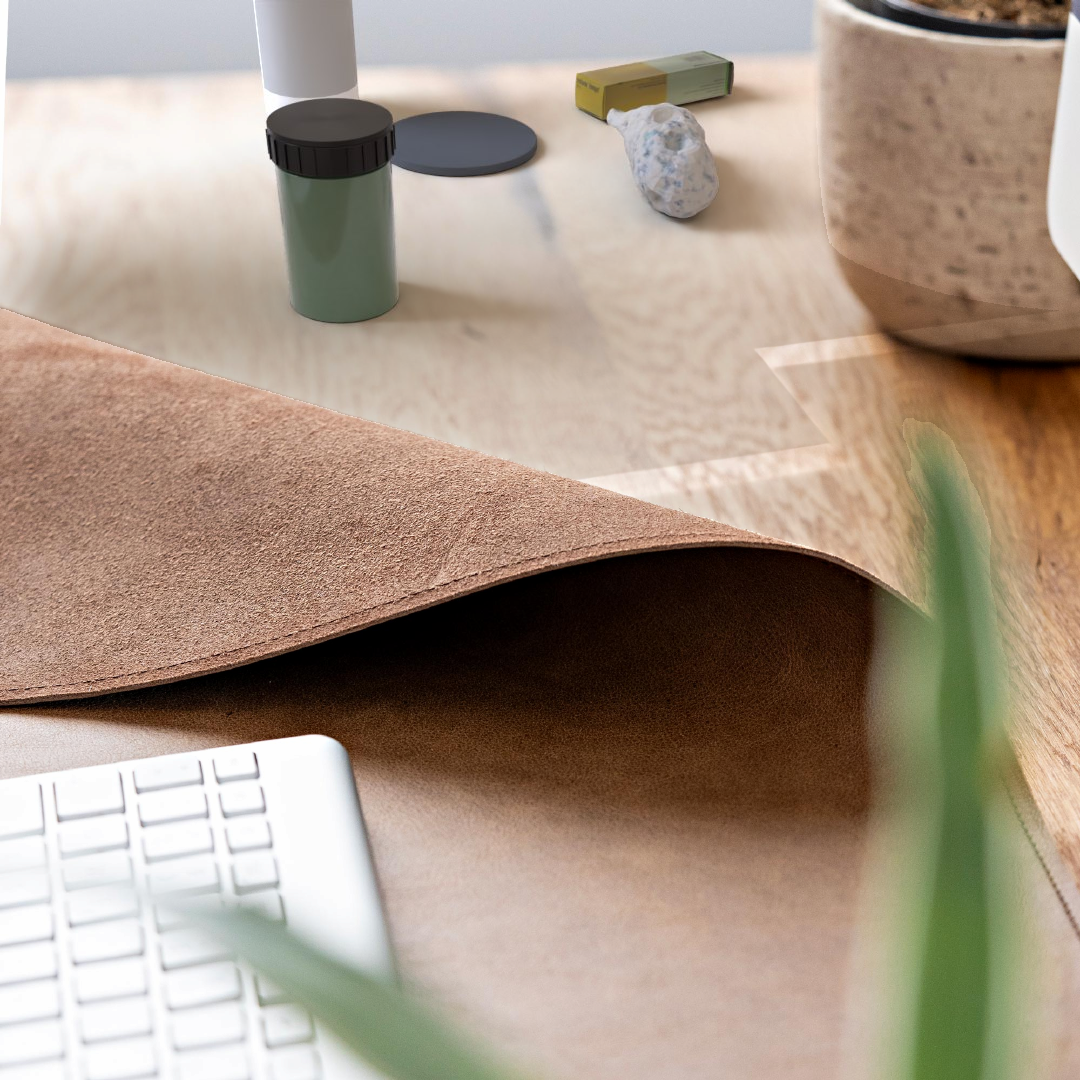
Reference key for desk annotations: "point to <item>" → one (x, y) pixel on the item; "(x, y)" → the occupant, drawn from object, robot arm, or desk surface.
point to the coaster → (462, 143)
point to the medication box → (654, 83)
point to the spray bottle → (306, 50)
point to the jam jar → (339, 243)
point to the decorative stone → (668, 157)
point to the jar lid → (330, 137)
